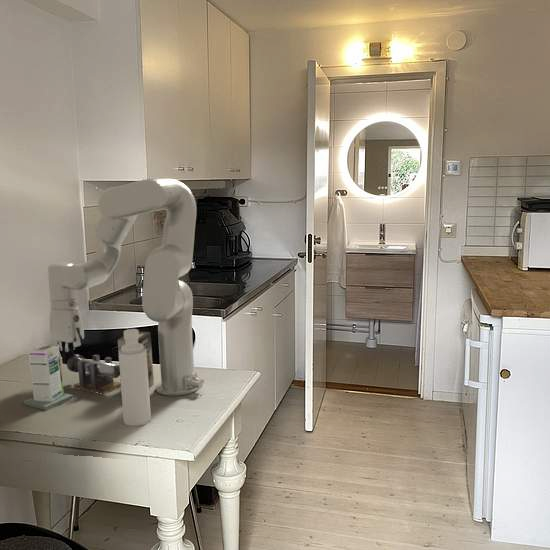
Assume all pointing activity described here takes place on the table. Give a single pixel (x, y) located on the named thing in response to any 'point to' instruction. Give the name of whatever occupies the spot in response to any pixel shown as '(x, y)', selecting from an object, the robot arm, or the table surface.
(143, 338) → the coffee box
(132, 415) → the spray bottle
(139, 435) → the table surface
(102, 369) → the shaft
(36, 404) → the grey-green square pad
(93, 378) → the bracket
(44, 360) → the syrup box
